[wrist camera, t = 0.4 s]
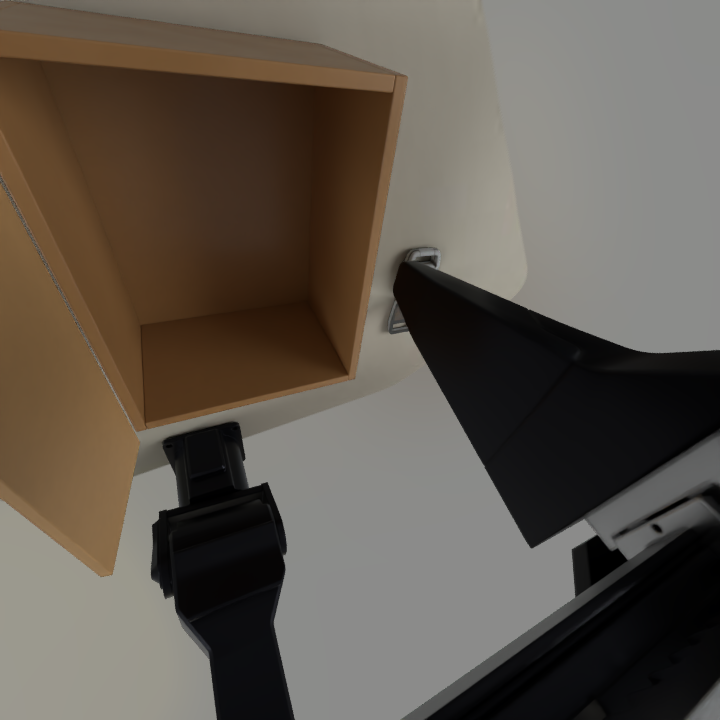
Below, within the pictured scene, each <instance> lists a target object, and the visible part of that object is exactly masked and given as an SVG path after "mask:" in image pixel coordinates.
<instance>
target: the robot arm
mask: <svg viewBox="0 0 720 720" xmlns="http://www.w3.org/2000/svg"><path fill="white" fill-rule="evenodd" d="M393 293H394V297H395V299H396V301H397V304H398V306H399V308H400V311H401V313H402V315H403V318H404V320H405V323H406V325H407V327H408V330H409V332H410V334H411V336H412V338H413V340H414V342H415V344H416V346H417V347H418V349H419V351H420V353H421V355H422V356H423V358H424V360H425V362H426V363H427V365H428V367H429V369H430V371H431V372H432V374H433V376H434V378H435V379H436V381H437V383H438V385H439V386H440V388H441V390H442V392H443V394H444V395H445V397H446V399H447V401H448V403H449V404H450V406H451V408H452V409H453V412H454V413H455V415H456V417H457V419H458V420H459V422H460V424H461V426H462V428H463V429H464V431H465V433H466V434H467V436H468V438H469V440H470V442H471V444H472V445H473V447H474V449H475V451H476V453H477V454H478V456H479V458H480V459H481V461H482V463H483V465H484V466H485V469H486V471H487V472H488V474H489V476H490V478H491V480H492V481H493V483H494V485H495V487H496V489H497V490H498V492H499V494H500V496H501V497H502V499H503V501H504V503H505V505H506V506H507V508H508V510H509V512H510V514H511V515H512V517H513V518H514V520H515V522H516V524H517V526H518V528H519V530H520V531H521V533H522V535H523V537H524V538H525V540H526V542H527V543H528V544H529V546H530V548H534V547H535V546H537V545H539V544H541V543H543V542H545V541H546V540H548V539H550V538H552V537H553V536H555V535H557V534H559V533H560V532H562V531H564V530H566V529H567V528H569V527H571V526H573V525H574V524H576V523H578V522H580V521H582V520H583V519H585V520H586V521H587V523H588V524H589V525H590V526H591V528H593V530H594V531H595V532H596V533H597V535H595V536H594V537H592V538H590V539H588V540H587V541H585V542H584V543H582V544H580V545H578V546H577V547H576V548H574V549H572V559H573V572H574V584H575V598H574V599H573V600H571V601H570V602H568V603H567V604H565V605H564V606H563V607H561V608H560V609H558V610H557V611H555V612H554V613H553V614H551V615H550V616H548V617H547V618H545V619H544V620H543V621H541V622H540V623H538V624H537V625H535V626H534V627H533V628H531V629H530V630H528V631H527V632H526V633H524V634H522V635H521V636H520V637H518V638H517V639H515V640H514V641H512V642H511V643H510V644H508V645H507V646H505V647H504V648H502V649H501V650H500V651H498V652H497V653H495V654H494V655H493V656H491V657H490V658H488V659H487V660H485V661H484V662H482V663H481V664H480V665H478V666H477V667H475V668H474V669H472V670H471V671H470V672H468V673H467V674H465V675H464V676H462V677H461V678H460V679H458V680H457V681H455V682H454V683H453V684H451V685H450V686H448V687H447V688H445V689H444V690H442V691H441V692H440V693H438V694H437V695H435V696H434V697H432V698H431V699H429V700H428V701H427V702H425V703H424V704H422V705H421V706H419V707H418V708H417V709H415V710H414V711H413V712H411V713H410V714H408V715H407V716H405V717H404V718H402V719H401V720H720V350H711V351H693V352H675V353H647V352H640V351H636V350H632V349H629V348H626V347H623V346H620V345H618V344H615V343H613V342H610V341H607V340H605V339H602V338H599V337H596V336H594V335H591V334H589V333H586V332H583V331H580V330H578V329H576V328H573V327H570V326H568V325H565V324H563V323H560V322H558V321H555V320H553V319H551V318H548V317H546V316H543V315H541V314H539V313H536V312H534V311H532V310H528V309H527V308H524V307H522V306H520V305H518V304H515V303H513V302H511V301H509V300H506V299H504V298H502V297H499V296H497V295H495V294H492V293H490V292H488V291H485V290H483V289H481V288H478V287H476V286H474V285H471V284H469V283H467V282H464V281H462V280H460V279H458V278H455V277H453V276H451V275H448V274H446V273H444V272H441V271H439V270H437V269H434V268H432V267H430V266H427V265H425V264H423V263H420V262H418V261H414V260H413V261H404V262H402V263H401V264H400V266H399V269H398V272H397V276H396V279H395V282H394V286H393ZM162 444H163V449H164V451H165V454H166V456H167V458H168V460H169V462H170V464H171V466H172V468H173V470H174V473H175V475H176V480H177V490H178V501H179V507H178V508H175V509H171V510H168V511H167V510H163V511H160V512H159V520H158V521H157V522H155V523H154V524H153V525H152V533H153V552H152V563H151V564H152V565H151V578H152V580H154V581H155V582H157V583H159V584H160V588H161V589H163V593H164V597H165V599H167V598H170V597H172V596H174V599H175V609H176V613H177V615H178V618H179V620H180V623H181V625H182V627H183V629H184V630H185V631H186V633H187V634H188V635H189V636H190V637H191V638H192V640H193V641H194V642H195V643H196V644H197V645H198V647H199V648H200V649H201V650H202V651H203V652H204V653H205V655H206V656H207V657H208V658H209V659H210V667H211V674H212V683H213V691H214V700H215V707H216V715H217V720H295V719H294V714H293V710H292V705H291V701H290V697H289V692H288V687H287V683H286V679H285V674H284V669H283V665H282V660H281V656H280V652H279V647H278V643H277V638H276V633H275V628H274V618H275V613H276V609H277V605H278V600H279V596H280V592H281V588H282V584H283V579H284V575H285V563H284V559H283V555H285V554H286V552H287V544H286V536H285V531H284V527H283V522H282V519H281V516H280V513H279V511H278V508H277V506H276V503H275V501H274V498H273V496H272V493H271V490H270V488H269V485H268V482H266V483H263V484H261V485H259V486H255V487H252V488H249V486H248V482H247V478H246V473H245V469H244V466H243V461H244V460H245V453H244V448H243V442H242V436H241V430H240V426H239V423H238V422H232V423H228V424H225V425H221V426H217V427H213V428H209V429H205V430H201V431H197V432H193V433H190V434H186V435H182V436H178V437H174V438H170V439H167V440H164V441H163V443H162Z"/></svg>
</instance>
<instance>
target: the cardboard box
mask: <svg viewBox="0 0 720 720" xmlns="http://www.w3.org/2000/svg"><path fill="white" fill-rule="evenodd" d="M407 81H408V77H407V76H406V75H403V74H400V73H397V72H395V71H392V70H389V69H387V68H384V67H381V66H379V65H376V64H373V63H371V62H368V61H365V60H362V59H360V58H357V57H354V56H352V55H349V54H346V53H344V52H341V51H338V50H336V49H333V48H330V47H327V46H325V45H322V44H316V43H309V42H301V41H294V40H287V39H280V38H273V37H265V36H258V35H251V34H244V33H237V32H230V31H222V30H215V29H208V28H201V27H194V26H186V25H179V24H172V23H165V22H158V21H150V20H143V19H136V18H129V17H122V16H114V15H107V14H100V13H93V12H86V11H78V10H71V9H64V8H57V7H50V6H42V5H35V4H28V3H21V2H14V1H6V0H4V1H0V175H1V177H2V179H3V181H4V183H5V185H6V187H7V189H8V191H9V192H10V194H11V196H12V198H13V200H14V202H15V204H16V206H17V208H18V209H19V211H20V213H21V215H22V217H23V219H24V221H25V223H26V225H27V226H28V228H29V230H30V232H31V234H32V236H33V238H34V240H35V241H36V243H37V245H38V247H39V249H40V251H41V253H42V255H43V257H44V258H45V260H46V262H47V264H48V266H49V268H50V270H51V272H52V274H53V275H54V277H55V279H56V281H57V283H58V285H59V287H60V289H61V291H62V292H63V294H64V296H65V298H66V300H67V302H68V304H69V306H70V308H71V309H72V311H73V313H74V315H75V317H76V319H77V321H78V323H79V324H80V326H81V328H82V330H83V332H84V334H85V336H86V338H87V340H88V341H89V343H90V345H91V347H92V349H93V351H94V353H95V355H96V357H97V358H98V360H99V362H100V364H101V366H102V368H103V370H104V372H105V374H106V375H107V377H108V379H109V381H110V383H111V385H112V387H113V389H114V391H115V392H116V394H117V396H118V398H119V400H120V402H121V404H122V406H123V407H124V409H125V411H126V413H127V415H128V417H129V419H130V421H131V423H132V424H133V426H134V428H135V430H136V431H137V432H138V431H142V430H146V429H147V428H148V429H150V428H154V427H158V426H163V425H167V424H171V423H175V422H179V421H183V420H187V419H191V418H196V417H200V416H204V415H208V414H212V413H216V412H220V411H224V410H229V409H233V408H237V407H241V406H245V405H249V404H253V403H257V402H262V401H266V400H270V399H274V398H278V397H282V396H286V395H290V394H295V393H299V392H303V391H307V390H311V389H315V388H319V387H323V386H328V385H332V384H336V383H340V382H344V381H347V380H352V379H355V376H356V370H357V365H358V359H359V353H360V348H361V342H362V336H363V331H364V325H365V319H366V314H367V308H368V302H369V297H370V291H371V285H372V280H373V274H374V268H375V262H376V257H377V251H378V245H379V240H380V234H381V228H382V223H383V217H384V211H385V206H386V200H387V194H388V189H389V183H390V177H391V172H392V166H393V160H394V155H395V149H396V143H397V138H398V132H399V126H400V121H401V115H402V109H403V103H404V98H405V92H406V86H407Z"/></svg>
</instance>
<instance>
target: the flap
mask: <svg viewBox="0 0 720 720" xmlns="http://www.w3.org/2000/svg"><path fill="white" fill-rule="evenodd" d="M139 445H140V442H139V440H138V438H137V436H136V434H135V432H134V430H133V429H132V427H131V425H130V423H129V421H128V419H127V417H126V416H125V414H124V412H123V410H122V408H121V406H120V404H119V403H118V401H117V399H116V397H115V395H114V393H113V391H112V390H111V388H110V386H109V384H108V382H107V380H106V378H105V377H104V375H103V373H102V371H101V369H100V367H99V365H98V364H97V362H96V360H95V358H94V356H93V354H92V352H91V350H90V349H89V347H88V345H87V343H86V341H85V339H84V337H83V336H82V334H81V332H80V330H79V328H78V326H77V324H76V323H75V321H74V319H73V317H72V315H71V313H70V311H69V310H68V308H67V306H66V304H65V302H64V300H63V298H62V297H61V295H60V293H59V291H58V289H57V287H56V285H55V284H54V282H53V280H52V278H51V276H50V274H49V272H48V271H47V269H46V267H45V265H44V263H43V261H42V259H41V257H40V256H39V254H38V252H37V250H36V248H35V246H34V244H33V243H32V241H31V239H30V237H29V235H28V233H27V231H26V230H25V228H24V226H23V224H22V222H21V220H20V218H19V217H18V215H17V213H16V211H15V209H14V207H13V205H12V204H11V202H10V200H9V198H8V196H7V194H6V192H5V191H4V189H3V187H2V185H1V183H0V498H1V499H2V500H3V501H5V502H6V503H7V504H9V505H10V506H11V507H12V508H14V509H15V510H16V511H18V512H19V513H20V514H21V515H23V516H24V517H25V518H26V519H28V520H29V521H30V522H32V523H33V524H34V525H35V526H37V527H38V528H39V529H40V530H42V531H43V532H44V533H46V534H47V535H48V536H49V537H51V538H52V539H53V540H54V541H56V542H57V543H58V544H60V545H61V546H62V547H63V548H65V549H66V550H67V551H68V552H70V553H71V554H72V555H74V556H75V557H76V558H77V559H79V560H80V561H81V562H83V563H84V564H85V565H86V566H88V567H89V568H90V569H91V570H93V571H94V572H95V573H96V574H98V575H99V576H100V577H104V576H109V575H112V574H113V570H114V565H115V560H116V555H117V550H118V546H119V540H120V535H121V531H122V527H123V521H124V517H125V512H126V507H127V503H128V498H129V492H130V488H131V483H132V479H133V474H134V469H135V464H136V459H137V455H138V450H139Z"/></svg>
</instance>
